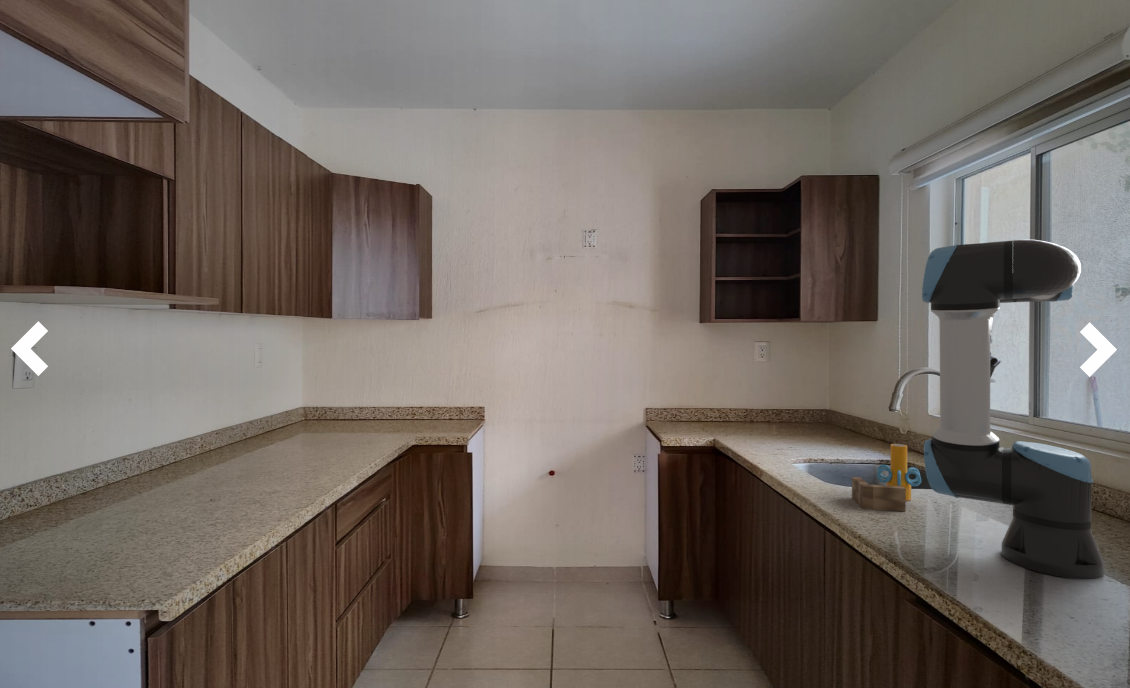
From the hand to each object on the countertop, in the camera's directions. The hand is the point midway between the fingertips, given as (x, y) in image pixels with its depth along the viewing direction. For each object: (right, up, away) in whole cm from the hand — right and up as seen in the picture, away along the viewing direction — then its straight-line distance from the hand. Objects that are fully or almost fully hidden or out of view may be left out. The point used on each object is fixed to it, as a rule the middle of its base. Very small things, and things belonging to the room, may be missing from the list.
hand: (963, 417), depth 146 cm
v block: (-26, -24, -3) cm, 36 cm away
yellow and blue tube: (-15, -24, +5) cm, 28 cm away
